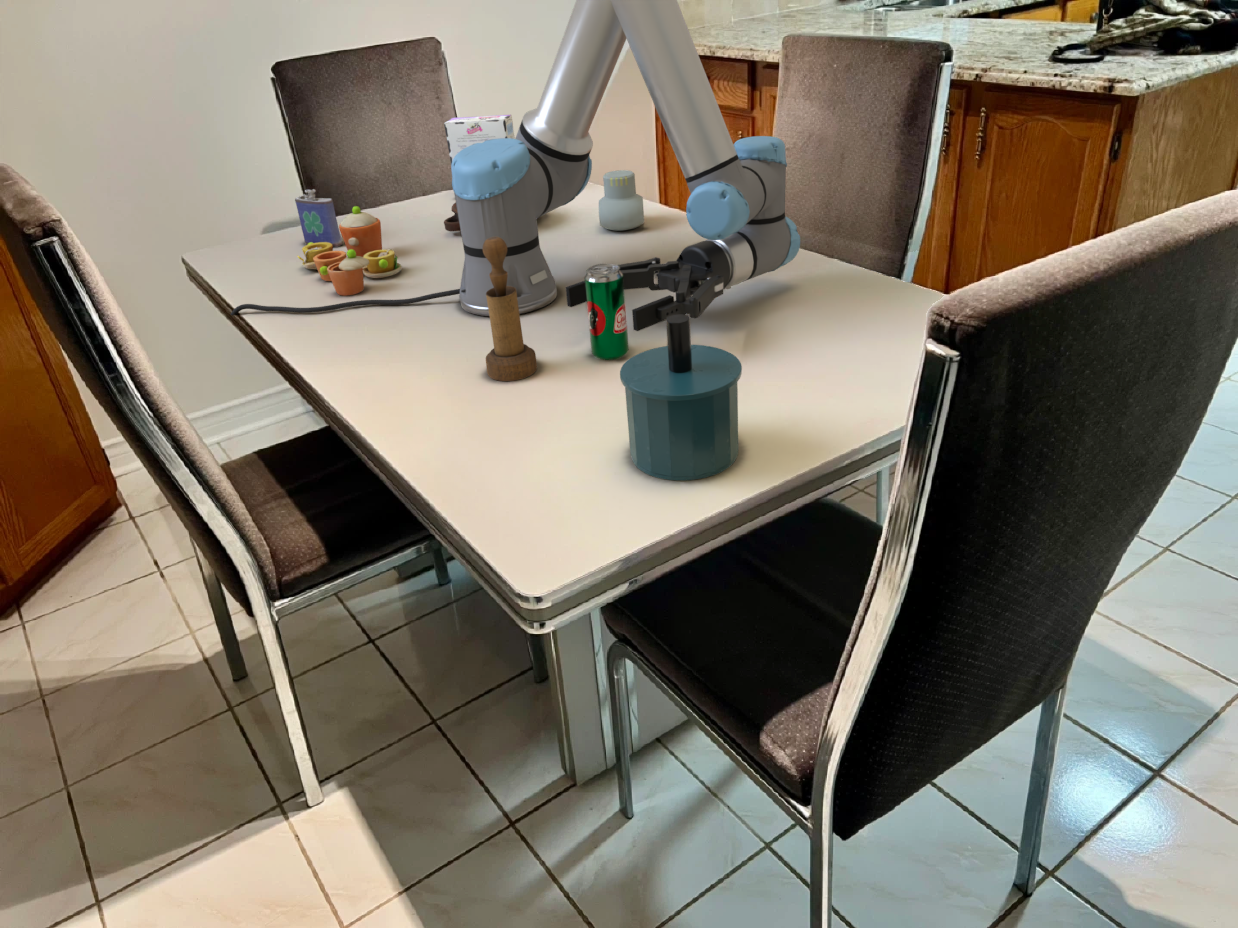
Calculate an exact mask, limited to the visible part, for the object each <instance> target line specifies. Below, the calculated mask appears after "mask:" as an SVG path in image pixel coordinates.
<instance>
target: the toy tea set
mask: <svg viewBox="0 0 1238 928" xmlns="http://www.w3.org/2000/svg"><path fill="white" fill-rule="evenodd" d="M338 228H339V231H340V236H341V238H342V239H343V240H342V241H343V242H344V245H345V247H346V250H347V251H344V250H334V247H333V245H332V244H331V243H328V242H318V243H312V242H310V243H308V245H307V244H305V245H304V246H303V247H302V248H301V250H302V253H303V255H304V258H305V259H304V258H302V257H300V256H299V255H297V258H298V260H300V261H302V267H303V268H304V269H308V270H317V272H318V274H319V276H320V279H321V280H322V281H323V282H324V281H325V282H331V283H332V286H333V288H334V290H335V292H336V294H337V295H339V296H353V295H357V294H360V293H362V291H363V290H364V289H365V281H364V276H365V277H367V278H374V279H381V278H388V277H392V276H394V275H396V274H398V273H399V272H400V271H402V264H401V263H399V262H398V256H397V253H396V252H395V251H394V249H392V248H388V249H383V241H382V240H383V239H382V238H383V237H382V223H381V220H380V219H379V218H378V217H375V216H374V215H372V214H371V213H368V212H366V211H361V208H360V206H357V205H354V206H353V207H352V209H351V213H349V214H348V215H346V216H345V217H344V219H343V220H342V221H341V223H340V224H338Z"/></svg>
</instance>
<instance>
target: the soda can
mask: <svg viewBox="0 0 1238 928" xmlns="http://www.w3.org/2000/svg"><path fill="white" fill-rule="evenodd" d="M618 265H619V264H616V263H615V264H614V263H598V264H593V265H591V266H589V267H587V268H586V271H585V272H586V273H585V276H584V279H583V281H585V291H586V301H587V302H586V309H587V310H586V311H587V319H588V329H589V330H588V331H589V340H590V350H591V354H592V355H593V356H594V357H595V358H596V359H598V360H600V361H615V360H619V359H622V358H624V357H625V356H626V355H627V353H628V352H629V350H630V346H629V345H630V344H629V335H628V334H629V333H628V320H627V308H626V307H627V306H626V297H625V296H626V295H625V294H626V293H625V289H624V280H623V274H622V273H621V271H620V267H619V266H618Z"/></svg>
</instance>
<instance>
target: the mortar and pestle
mask: <svg viewBox="0 0 1238 928" xmlns="http://www.w3.org/2000/svg"><path fill="white" fill-rule="evenodd" d="M483 253H484V255H485V257H486V258H487V260H488V261H489V262H490V264H491V266H492V271H491V273H490V274H489V276H490V279H491V282H492V284H493V286H494V288H492V289H490V290H488V291H487V292H486V298H487V304H488V310H489V316H488V317H489V321H490V329H491V335H492V343H493V348H491V350H490V351H489V352H488V353H487V354H486V355H485V365H486V366H485V367H486V373H487V375H488V377H489V378H490V379H492V380H495V381H500V382H511V381H520V380H522V379H523V380H524V379H526V378H528V377H530V376H532V375H533V374H535V373H536V372H537V370H538V362H537V355H536V351H535V350H534V349H533V348H532V347H530V346H528V345H527V344H525V343H524V337H523V329H522V324H521V316H520V315H521V314H519V307H518V300H517V292H516V288H514V287H512V286H506V285H507V276H508V274H507V271H505V270H504V269H503V262H504V259H505V257H506V254H507V245H506V243H505V241H504V240H503V239H502V238H500V237H491V238H488V239H487V240H485V242H484V244H483Z"/></svg>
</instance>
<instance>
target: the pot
mask: <svg viewBox="0 0 1238 928" xmlns="http://www.w3.org/2000/svg"><path fill="white" fill-rule="evenodd" d="M624 391H625V392H624V393H625V402H626V403H625V404H626V414H627V415H626V416H627V428H628V440H629V452H630V457H631V460H632V463H633V465H634V466H635V467H636V468H637V469H638V470H640V472H642V473H644V474H645V475H648V476H651V477H653V478H657V479H661V480H668V481H681V482H682V481H683V482H684V481H695V480H702V479H705V478H710V477H713V476H716V475H717V474H720V473H722V472H724V471H725V470H727V469H730V467H731V466H732V465H733V464H734V463H736V460H737V458H738V456H739V408H738V407H739V404H738V403H739V398H738V395H739V394H738V392H739V391H738V382H737V383H736V384H734V385H733V386H732V387H730V388H729V389H727V390H725V391H723V392H720V393H718V394H715V395H712V396H708V397H704V398H699V399H692V400H680V401H669V400H658V399H651V398H647V397H643V396H640V395H637V394H635V393H633V392H631V391H629V390H628V389H627V388H626V387H625V386H624Z"/></svg>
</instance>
